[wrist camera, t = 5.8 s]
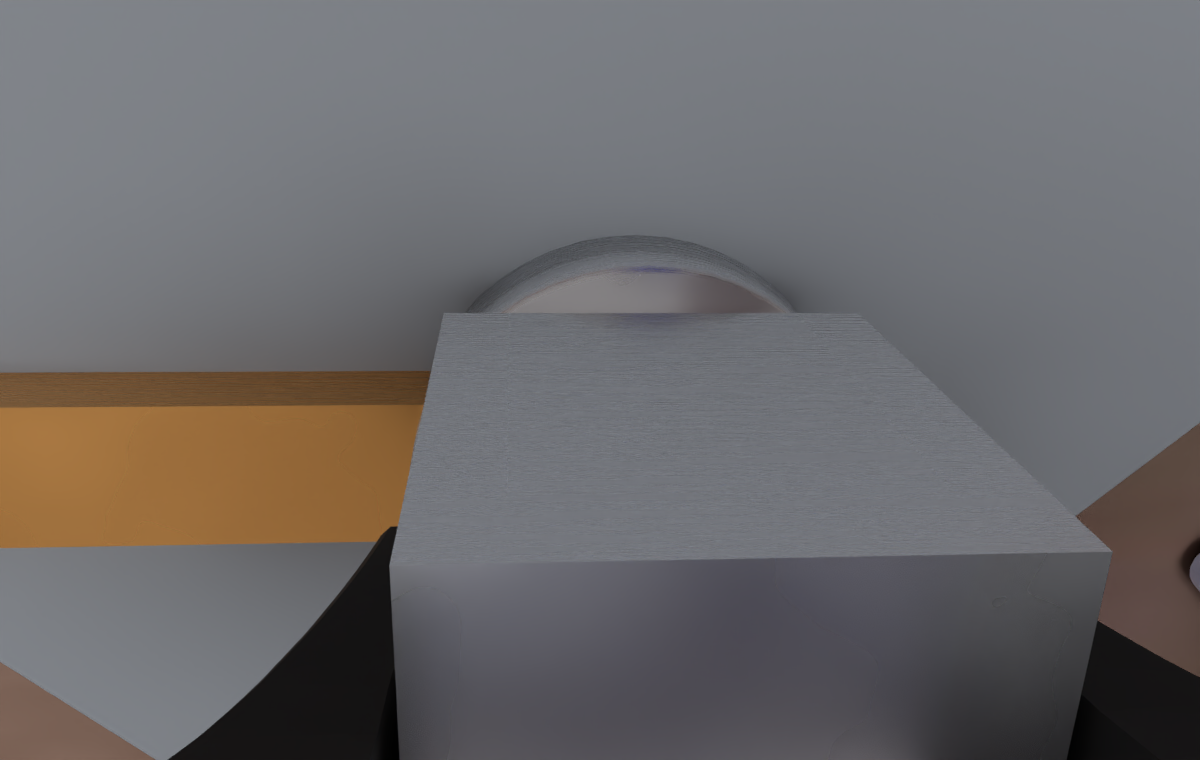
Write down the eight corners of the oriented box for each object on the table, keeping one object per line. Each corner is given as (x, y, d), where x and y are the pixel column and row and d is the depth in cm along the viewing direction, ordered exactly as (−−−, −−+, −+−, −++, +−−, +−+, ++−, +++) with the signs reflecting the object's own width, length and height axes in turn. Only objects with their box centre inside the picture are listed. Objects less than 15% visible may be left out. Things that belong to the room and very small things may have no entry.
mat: (1472, 188, 16) (1500, 196, 16) (481, 940, 21) (480, 963, 21) (656, -1253, 10) (662, -1310, 9) (-496, 316, 15) (-529, 330, 14)
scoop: (-36, 620, 17) (-260, 907, 12) (-137, 229, 14) (-477, 390, 9) (807, 602, 18) (918, 856, 13) (854, 236, 15) (1014, 383, 10)
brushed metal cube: (858, 312, 13) (1111, 551, 8) (818, 659, 15) (1000, 1058, 9) (443, 313, 13) (389, 566, 7) (454, 669, 15) (417, 1092, 9)
